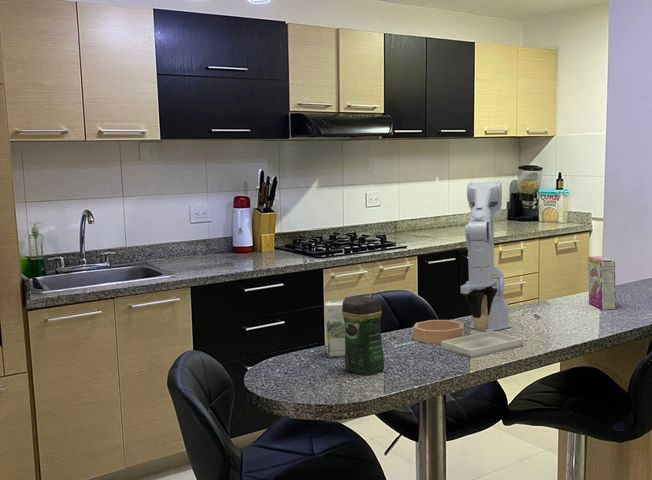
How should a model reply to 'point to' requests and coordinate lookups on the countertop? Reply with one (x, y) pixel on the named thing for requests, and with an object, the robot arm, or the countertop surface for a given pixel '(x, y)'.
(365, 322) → the coffee jar
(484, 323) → the wooden pin
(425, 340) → the octagonal open frame
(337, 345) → the syrup box
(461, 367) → the countertop surface
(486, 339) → the cream tray
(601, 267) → the candy bar box
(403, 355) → the countertop surface
